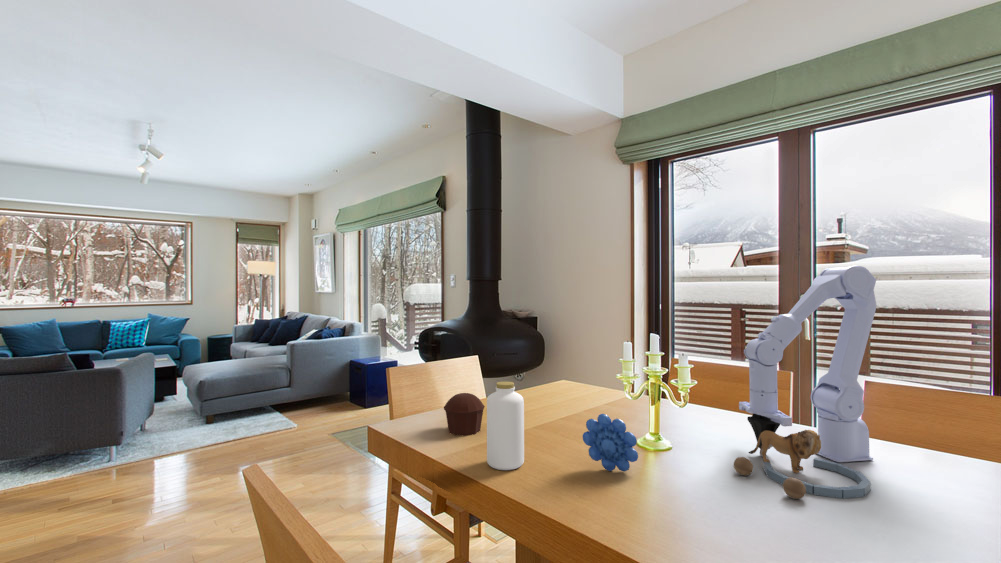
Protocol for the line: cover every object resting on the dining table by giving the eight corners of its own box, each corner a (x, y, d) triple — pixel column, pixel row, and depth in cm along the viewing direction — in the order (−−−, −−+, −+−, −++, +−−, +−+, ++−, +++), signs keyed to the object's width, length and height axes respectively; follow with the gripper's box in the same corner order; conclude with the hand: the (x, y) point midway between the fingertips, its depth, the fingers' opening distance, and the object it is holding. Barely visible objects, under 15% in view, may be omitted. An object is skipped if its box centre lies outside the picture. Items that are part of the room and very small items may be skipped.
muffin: (449, 423, 131) (449, 389, 131) (487, 425, 129) (487, 390, 130) (438, 436, 119) (438, 398, 119) (479, 438, 118) (479, 400, 118)
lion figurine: (826, 473, 95) (825, 430, 95) (816, 479, 91) (815, 435, 92) (753, 453, 106) (753, 414, 107) (742, 458, 103) (741, 418, 104)
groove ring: (824, 464, 100) (824, 457, 100) (893, 493, 85) (893, 485, 85) (754, 469, 97) (753, 462, 97) (813, 501, 82) (812, 492, 82)
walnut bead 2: (795, 492, 85) (794, 473, 85) (811, 501, 82) (810, 481, 82) (778, 494, 85) (777, 475, 85) (793, 503, 81) (793, 483, 81)
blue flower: (579, 474, 94) (578, 417, 94) (584, 463, 100) (584, 409, 101) (637, 482, 90) (636, 422, 90) (638, 470, 97) (638, 413, 97)
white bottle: (531, 464, 100) (531, 382, 100) (506, 475, 94) (506, 388, 94) (504, 454, 106) (504, 378, 106) (478, 464, 100) (478, 383, 100)
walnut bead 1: (745, 470, 96) (744, 453, 96) (757, 477, 92) (757, 460, 92) (729, 472, 95) (729, 454, 95) (741, 479, 92) (741, 461, 92)
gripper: (727, 384, 112) (728, 439, 112) (771, 398, 98) (772, 460, 98) (753, 383, 113) (753, 437, 113) (799, 396, 99) (801, 458, 99)
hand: (764, 448), depth 106 cm, fingers closed
